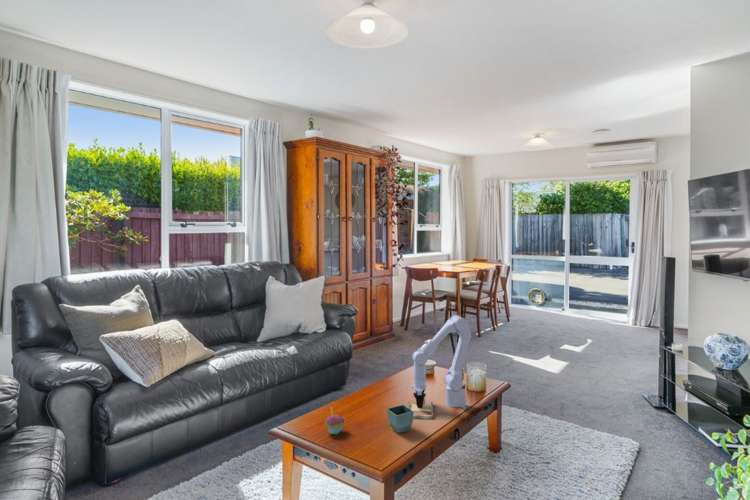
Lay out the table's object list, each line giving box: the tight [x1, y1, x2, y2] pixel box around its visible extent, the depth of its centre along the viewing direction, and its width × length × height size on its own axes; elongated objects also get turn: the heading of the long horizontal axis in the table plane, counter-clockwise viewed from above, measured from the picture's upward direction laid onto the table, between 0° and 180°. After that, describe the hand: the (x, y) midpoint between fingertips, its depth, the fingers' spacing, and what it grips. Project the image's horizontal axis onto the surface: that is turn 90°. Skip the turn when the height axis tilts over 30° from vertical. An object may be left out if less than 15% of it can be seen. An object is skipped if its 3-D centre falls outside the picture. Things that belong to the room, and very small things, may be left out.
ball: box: [414, 398, 426, 407], centre depth 218 cm, size 5×5×5 cm
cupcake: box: [324, 407, 345, 435], centre depth 195 cm, size 9×8×12 cm
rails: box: [406, 400, 434, 420], centre depth 213 cm, size 12×17×2 cm
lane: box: [409, 403, 431, 412], centre depth 213 cm, size 12×17×1 cm
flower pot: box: [386, 404, 414, 434], centre depth 195 cm, size 9×9×9 cm
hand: (420, 404), depth 218 cm, fingers open, 7 cm apart
